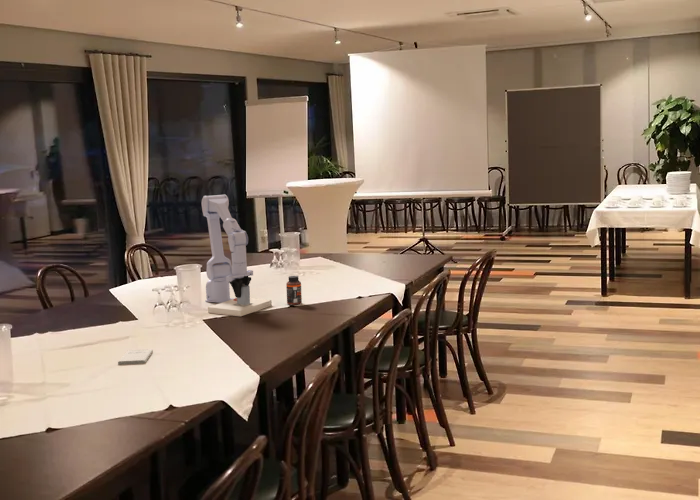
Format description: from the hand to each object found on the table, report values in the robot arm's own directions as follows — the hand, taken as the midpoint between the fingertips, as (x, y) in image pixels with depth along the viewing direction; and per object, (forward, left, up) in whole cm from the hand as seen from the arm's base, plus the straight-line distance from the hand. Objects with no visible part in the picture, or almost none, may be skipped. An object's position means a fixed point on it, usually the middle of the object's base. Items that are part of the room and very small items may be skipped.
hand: (241, 296), depth 304 cm
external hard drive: (+11, -67, -6) cm, 68 cm away
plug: (+1, 0, -3) cm, 3 cm away
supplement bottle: (+14, +17, -6) cm, 22 cm away
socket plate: (-1, +1, -5) cm, 6 cm away
